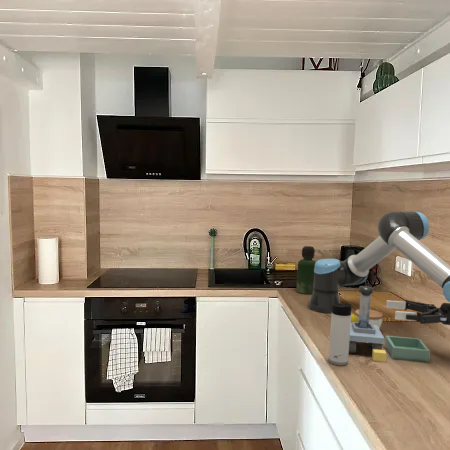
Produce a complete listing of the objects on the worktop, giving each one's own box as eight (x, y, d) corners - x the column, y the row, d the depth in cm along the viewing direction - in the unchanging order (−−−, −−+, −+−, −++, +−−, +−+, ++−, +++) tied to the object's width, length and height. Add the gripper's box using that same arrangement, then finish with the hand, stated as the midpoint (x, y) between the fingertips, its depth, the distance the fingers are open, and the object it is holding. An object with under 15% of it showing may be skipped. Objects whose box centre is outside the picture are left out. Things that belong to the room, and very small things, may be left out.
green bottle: (303, 295, 226) (306, 248, 224) (292, 290, 236) (295, 245, 233) (319, 293, 230) (322, 248, 228) (308, 289, 240) (310, 245, 237)
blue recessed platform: (342, 340, 162) (344, 318, 162) (375, 343, 161) (377, 321, 160) (346, 354, 149) (348, 330, 148) (382, 358, 147) (384, 334, 146)
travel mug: (337, 367, 138) (341, 307, 136) (324, 359, 144) (328, 301, 142) (352, 364, 140) (356, 305, 138) (339, 357, 146) (343, 300, 144)
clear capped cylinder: (355, 327, 157) (358, 285, 155) (368, 328, 156) (372, 286, 154) (357, 331, 152) (360, 288, 150) (371, 332, 151) (374, 289, 150)
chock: (371, 357, 147) (372, 348, 147) (384, 358, 146) (384, 350, 146) (373, 360, 144) (374, 352, 144) (385, 362, 143) (386, 353, 143)
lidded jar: (386, 335, 169) (388, 312, 168) (361, 336, 167) (363, 313, 166) (373, 326, 180) (374, 304, 179) (349, 327, 178) (350, 305, 177)
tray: (384, 345, 158) (385, 335, 158) (419, 349, 156) (419, 338, 156) (392, 358, 146) (392, 347, 146) (429, 362, 144) (430, 351, 144)
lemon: (346, 328, 175) (347, 309, 175) (359, 332, 172) (360, 312, 171) (340, 332, 171) (341, 312, 170) (353, 335, 168) (354, 315, 167)
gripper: (468, 337, 136) (398, 331, 140) (441, 314, 161) (382, 309, 164) (470, 314, 136) (400, 309, 139) (443, 294, 160) (384, 290, 163)
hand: (390, 309), depth 151 cm, fingers open, 13 cm apart
